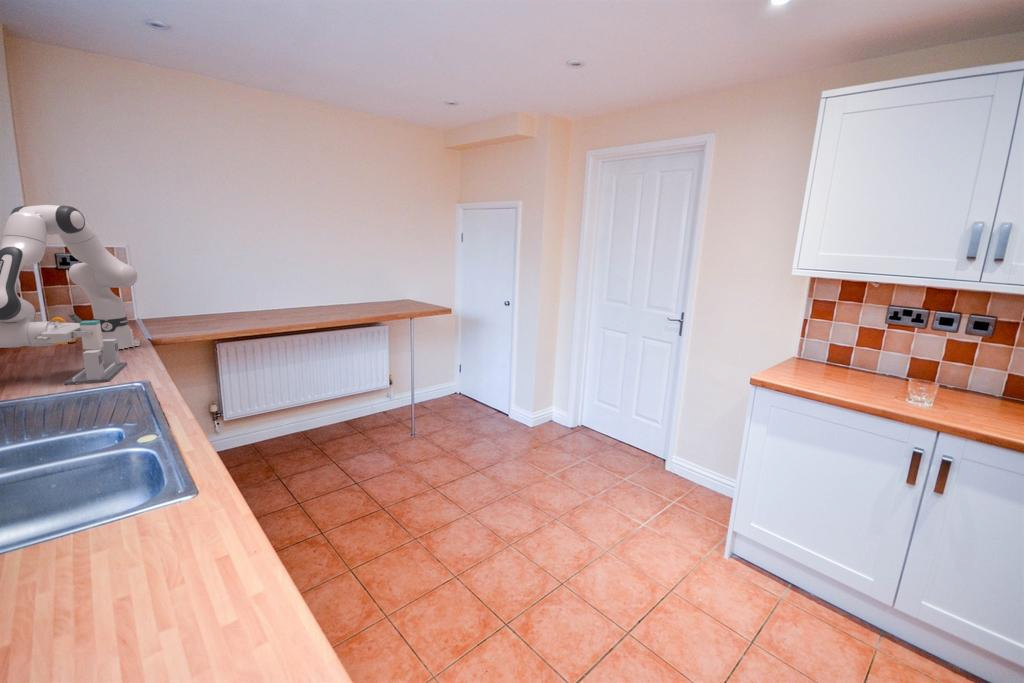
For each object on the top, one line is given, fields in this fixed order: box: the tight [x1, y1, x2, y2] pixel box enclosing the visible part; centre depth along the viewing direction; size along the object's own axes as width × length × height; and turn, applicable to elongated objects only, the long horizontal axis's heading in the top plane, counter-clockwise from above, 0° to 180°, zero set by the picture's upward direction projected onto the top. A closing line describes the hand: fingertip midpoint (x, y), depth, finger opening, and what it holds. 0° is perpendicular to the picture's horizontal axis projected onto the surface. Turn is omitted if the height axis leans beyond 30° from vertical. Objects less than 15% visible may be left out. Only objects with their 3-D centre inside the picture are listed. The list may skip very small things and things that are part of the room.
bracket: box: [49, 316, 78, 346], centre depth 217 cm, size 11×7×12 cm, turn 128°
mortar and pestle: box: [67, 312, 83, 323], centre depth 234 cm, size 11×9×12 cm
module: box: [79, 319, 103, 351], centre depth 172 cm, size 5×5×10 cm
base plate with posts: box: [63, 339, 128, 386], centre depth 174 cm, size 25×12×11 cm, turn 27°
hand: (94, 331), depth 172 cm, fingers closed on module, 5 cm apart
